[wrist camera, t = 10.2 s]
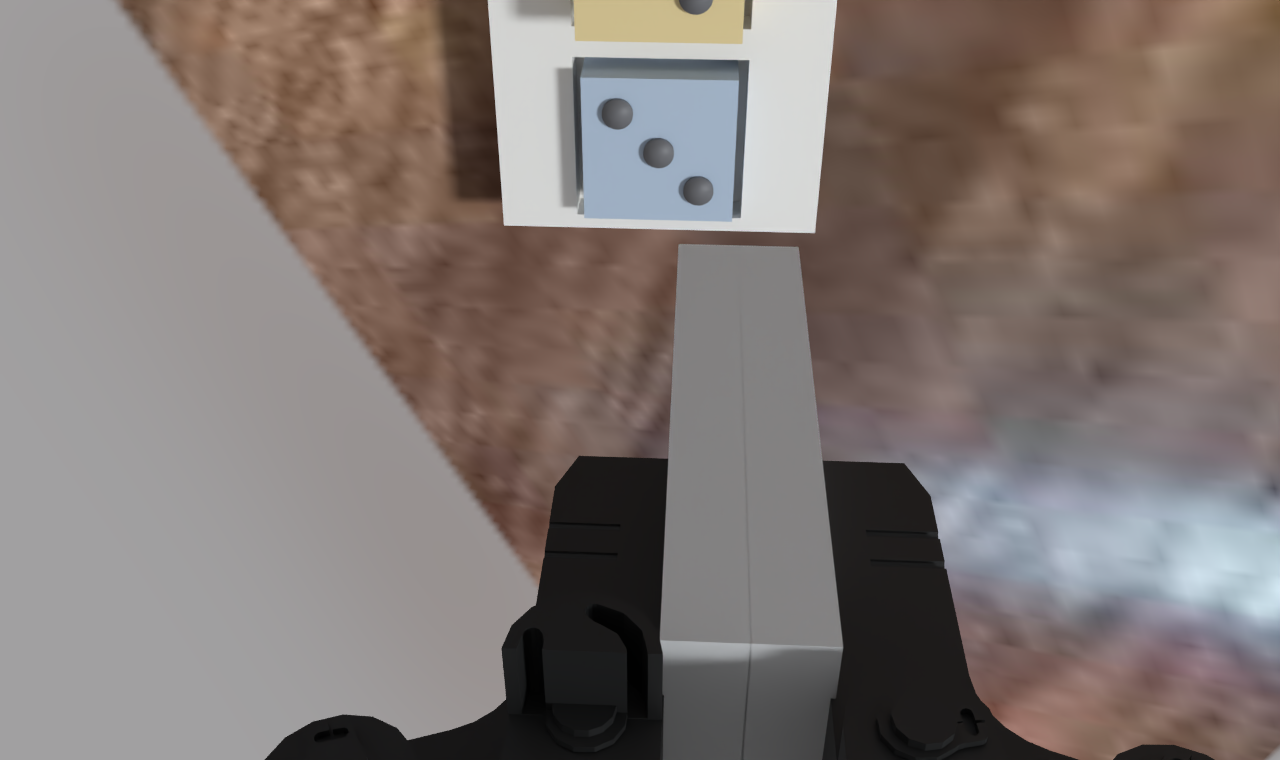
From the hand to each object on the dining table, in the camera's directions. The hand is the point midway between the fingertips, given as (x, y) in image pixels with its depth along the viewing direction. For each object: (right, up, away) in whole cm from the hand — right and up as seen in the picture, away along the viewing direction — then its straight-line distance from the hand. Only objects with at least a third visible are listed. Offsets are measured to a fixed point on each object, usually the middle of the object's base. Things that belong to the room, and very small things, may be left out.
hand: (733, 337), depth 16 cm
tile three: (0, +10, +34) cm, 36 cm away
